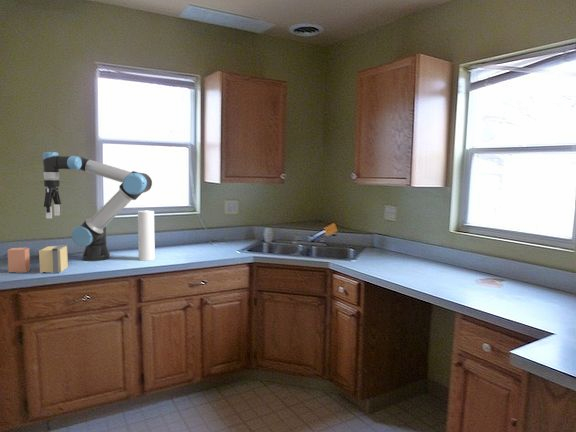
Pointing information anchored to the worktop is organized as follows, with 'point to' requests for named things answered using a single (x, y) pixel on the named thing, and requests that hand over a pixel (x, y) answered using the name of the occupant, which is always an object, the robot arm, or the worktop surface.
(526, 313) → the worktop surface
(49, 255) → the block
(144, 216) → the cylinder container
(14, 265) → the stub
